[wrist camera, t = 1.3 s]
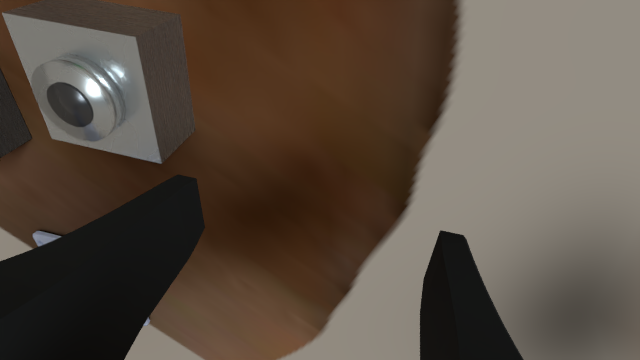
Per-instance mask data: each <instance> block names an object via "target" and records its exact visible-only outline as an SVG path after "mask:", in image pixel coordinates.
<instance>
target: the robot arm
mask: <svg viewBox="0 0 640 360" xmlns="http://www.w3.org/2000/svg"><path fill="white" fill-rule="evenodd" d="M204 228H205V226H204V220H203V214H202V208H201V203H200V197H199V191H198V185H197V180H196V178H191V177H187V176H182V175H176V176H174V177H172V178H170V179H169V180H167V181H165V182H163V183H161V184H160V185H158V186H156V187H154V188H153V189H151V190H149V191H147V192H146V193H144V194H142V195H140V196H139V197H137V198H135V199H133V200H131V201H130V202H128V203H126V204H124V205H122V206H121V207H119V208H117V209H115V210H114V211H112V212H110V213H108V214H106V215H104V216H102V217H100V218H98V219H96V220H94V221H92V222H90V223H88V224H87V225H85V226H83V227H81V228H79V229H77V230H75V231H73V232H71V233H68V234H66V235H64V236H58V235H54V234H50V233H46V232H42V231H36V232H35V233H33V238H34V240H35V241H36V243H37V245H38V247H37V248H34V249H32V250H30V251H27V252H25V253H22V254H19V255H16V256H14V257H11V258H8V259H6V260H3V261H0V360H124V359H125V357H126V355H127V353H128V351H129V350H130V348H131V346H132V344H133V342H134V341H135V339H136V337H137V335H138V333H139V332H140V330H141V328H142V327H143V326H147V325H148V324H149V322H150V320H149V316H150V314H151V313H152V311H153V310H154V308H155V307H156V306H157V304H158V303H159V301H160V300H161V298H162V297H163V295H164V294H165V293H166V291H167V290H168V288H169V287H170V285H171V284H172V282H173V281H174V280H175V278H176V277H177V275H178V274H179V272H180V271H181V269H182V268H183V266H184V265H185V263H186V262H187V260H188V259H189V257H190V256H191V254H192V252H193V250H194V248H195V246H196V244H197V242H198V240H199V238H200V236H201V234H202V232H203V230H204ZM420 360H523V358H522V356H521V355H520V353H519V351H518V349H517V348H516V346H515V345H514V343H513V341H512V339H511V337H510V335H509V333H508V332H507V330H506V328H505V326H504V324H503V322H502V320H501V318H500V317H499V315H498V312H497V310H496V308H495V306H494V304H493V302H492V300H491V298H490V296H489V294H488V292H487V290H486V287H485V285H484V283H483V281H482V278H481V276H480V274H479V271H478V269H477V266H476V264H475V261H474V259H473V256H472V254H471V251H470V248H469V245H468V243H467V240H466V238H465V237H464V236H463V235H460V234H455V233H450V232H446V231H440V233H439V236H438V239H437V242H436V245H435V247H434V250H433V253H432V256H431V259H430V262H429V265H428V268H427V271H426V274H425V277H424V281H423V291H422V299H421V309H420Z"/></svg>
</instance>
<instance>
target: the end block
mask: <svg viewBox="0 0 640 360" xmlns="http://www.w3.org/2000/svg"><path fill="white" fill-rule="evenodd" d="M30 139H32V137H31V135H30V133H29V131H28V128H27V126H26V124H25V122H24V120H23V118H22V115H21V113H20V111H19V109H18V107H17V105H16V102H15V100H14V98H13V96H12V94H11V91H10V89H9V87H8V85H7V83H6V81H5V78H4V76H3V74H2V72H1V70H0V158H1V157H3V156H4V155H6V154H8V153H9V152H11V151H12V150H14V149H16V148H17V147H19V146H21V145H22V144H24V143H25V142H27V141H29V140H30ZM0 161H1V160H0Z"/></svg>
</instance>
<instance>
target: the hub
mask: <svg viewBox="0 0 640 360" xmlns="http://www.w3.org/2000/svg"><path fill="white" fill-rule="evenodd" d="M2 14H3V17H4V19H5V22H6V25H7V27H8V30H9V32H10V35H11V37H12V40H13V42H14V45H15V47H16V50H17V52H18V55H19V57H20V60H21V62H22V65H23V67H24V70H25V72H26V75H27V77H28V80H29V82H30V85H31V87H32V90H33V93H34V96H35V98H36V101H37V103H38V105H39V107H40V110H41V112H42V115H43V117H44V120H45V122H46V125H47V127H48V130H49V132H50V135H51V137H52V139H56V140H60V141H65V142H69V143H73V144H78V145H82V146H86V147H91V148H95V149H99V150H104V151H108V152H112V153H117V154H121V155H125V156H130V157H134V158H138V159H143V160H147V161H151V162H156V163H160V164H162V163H163V162H164V161H165V160H166V159H167V158H168V157H169V156H170V155H171V154H172V153H173V152H174V151H175V150H176V149H177V148H178V147H179V146H180V145H181V144H182V143H183V142H184V141H185V140H186V139H187V138H188V137H189V136H190V135H191V134H192V133H193V132H194V131H195V123H194V115H193V108H192V100H191V92H190V85H189V77H188V69H187V62H186V54H185V46H184V39H183V31H182V23H181V16H180V14H175V13H169V12H163V11H157V10H151V9H145V8H140V7H134V6H128V5H122V4H116V3H110V2H104V1H99V0H43V1H39V2H36V3H33V4H29V5H26V6H23V7H19V8H16V9H13V10H9V11H6V12H3V13H2Z"/></svg>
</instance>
